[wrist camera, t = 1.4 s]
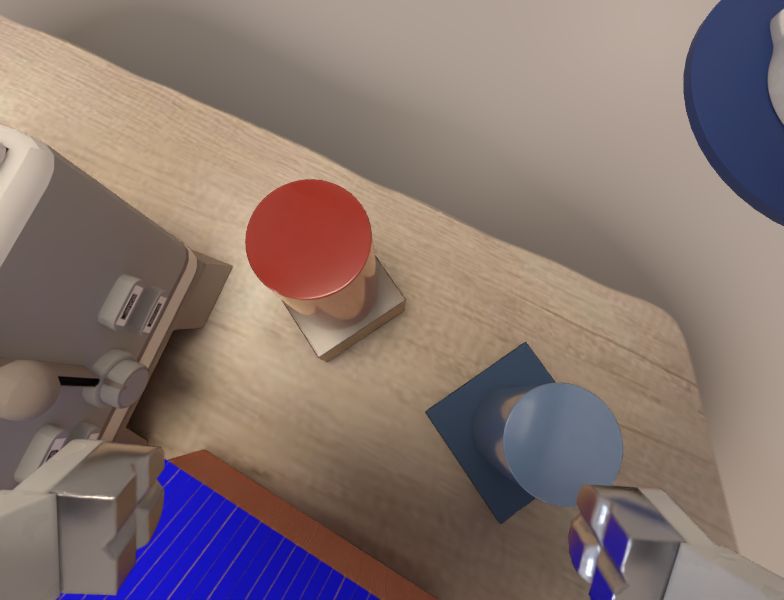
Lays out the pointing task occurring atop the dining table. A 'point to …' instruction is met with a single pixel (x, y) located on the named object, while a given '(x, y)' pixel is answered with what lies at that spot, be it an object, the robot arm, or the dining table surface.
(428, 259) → the dining table surface
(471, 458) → the blue mat
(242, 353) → the dining table surface
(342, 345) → the riser
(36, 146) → the toaster
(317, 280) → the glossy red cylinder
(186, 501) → the house
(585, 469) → the blue canister
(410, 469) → the dining table surface
